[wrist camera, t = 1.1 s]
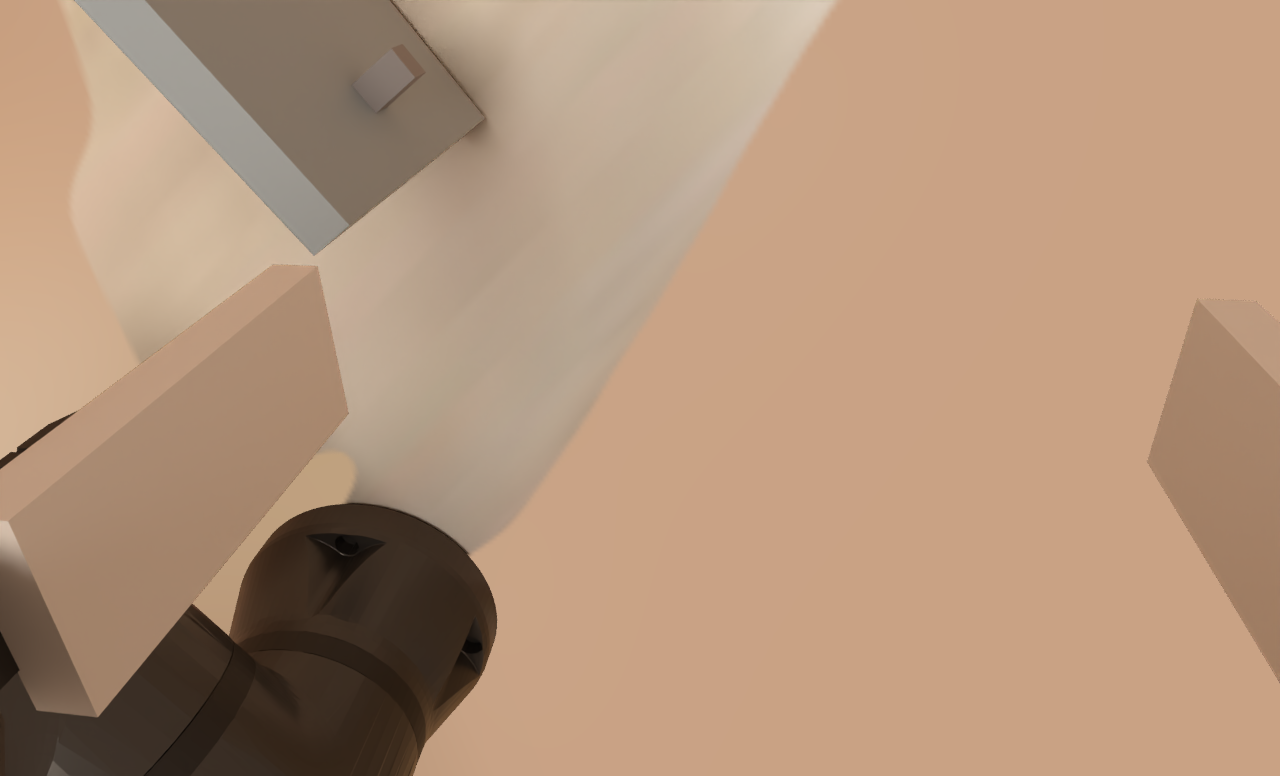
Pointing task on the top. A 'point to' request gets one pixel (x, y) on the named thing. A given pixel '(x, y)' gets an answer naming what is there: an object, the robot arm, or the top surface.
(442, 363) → the top surface
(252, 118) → the door
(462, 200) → the top surface
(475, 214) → the top surface
